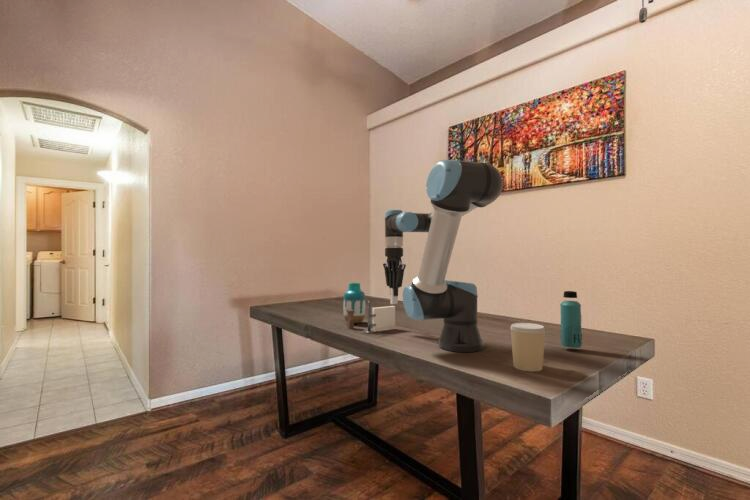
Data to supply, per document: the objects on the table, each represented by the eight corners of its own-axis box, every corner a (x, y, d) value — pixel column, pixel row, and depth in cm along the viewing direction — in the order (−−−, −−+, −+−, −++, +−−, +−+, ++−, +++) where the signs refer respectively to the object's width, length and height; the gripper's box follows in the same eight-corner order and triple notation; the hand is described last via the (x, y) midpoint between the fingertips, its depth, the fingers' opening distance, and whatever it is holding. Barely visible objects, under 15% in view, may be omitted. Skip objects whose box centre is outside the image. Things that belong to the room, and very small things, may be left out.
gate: (372, 330, 151) (372, 308, 152) (369, 330, 153) (369, 308, 153) (395, 327, 158) (395, 306, 158) (392, 326, 160) (392, 305, 160)
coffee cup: (534, 361, 110) (533, 322, 110) (552, 371, 101) (552, 328, 101) (504, 363, 109) (504, 323, 109) (521, 373, 99) (520, 329, 100)
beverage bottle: (574, 353, 119) (573, 292, 119) (555, 348, 125) (555, 290, 125) (586, 351, 122) (585, 291, 122) (568, 346, 128) (567, 289, 128)
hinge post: (375, 332, 151) (375, 301, 151) (367, 333, 149) (367, 301, 149) (370, 331, 154) (370, 300, 154) (363, 332, 152) (363, 300, 152)
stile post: (354, 328, 160) (354, 310, 160) (349, 329, 159) (349, 310, 159) (351, 327, 162) (351, 309, 162) (346, 328, 161) (346, 309, 161)
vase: (339, 324, 169) (339, 283, 170) (349, 320, 179) (349, 281, 179) (360, 326, 165) (359, 284, 166) (369, 322, 175) (368, 282, 175)
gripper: (411, 247, 147) (410, 305, 147) (392, 247, 158) (392, 301, 158) (396, 247, 143) (396, 306, 143) (377, 247, 154) (377, 302, 154)
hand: (394, 303), depth 151 cm, fingers closed
